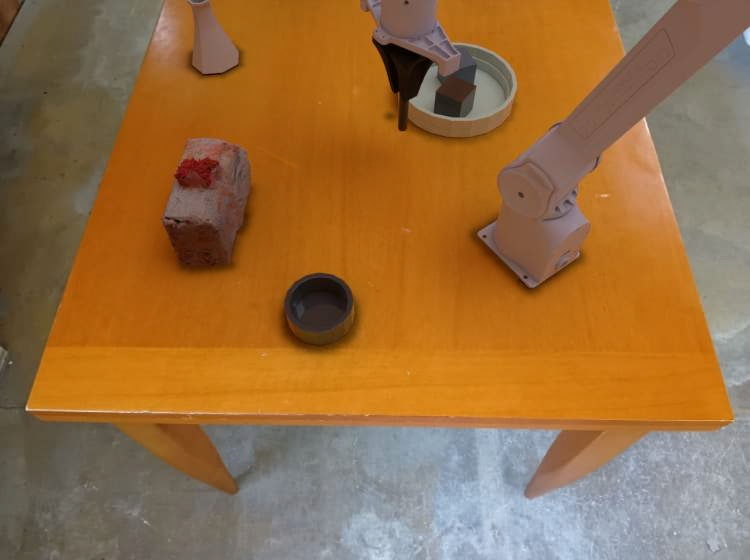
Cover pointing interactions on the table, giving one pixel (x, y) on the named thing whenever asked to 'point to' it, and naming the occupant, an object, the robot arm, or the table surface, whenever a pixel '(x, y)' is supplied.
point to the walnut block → (454, 98)
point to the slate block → (463, 68)
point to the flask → (210, 41)
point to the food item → (207, 201)
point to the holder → (319, 308)
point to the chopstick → (403, 115)
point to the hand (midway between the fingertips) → (404, 93)
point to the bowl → (489, 100)
